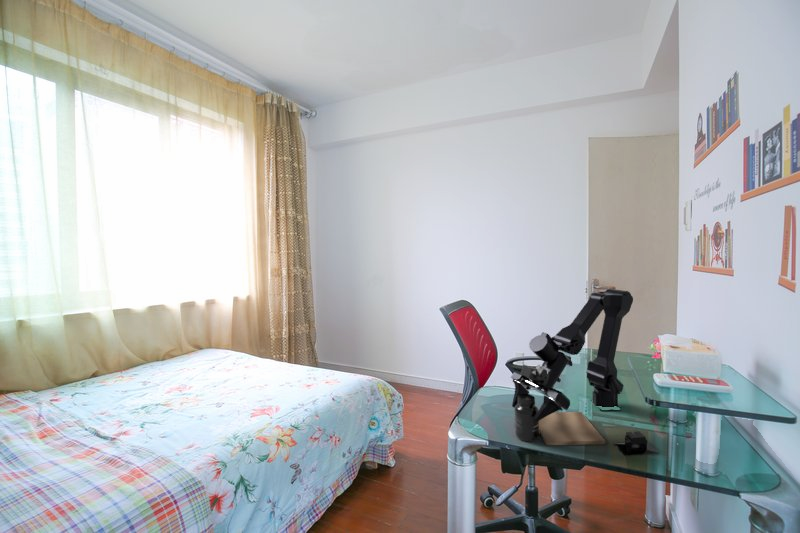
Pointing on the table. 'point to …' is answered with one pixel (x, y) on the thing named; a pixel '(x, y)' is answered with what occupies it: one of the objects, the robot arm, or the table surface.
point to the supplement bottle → (526, 418)
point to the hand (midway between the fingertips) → (523, 413)
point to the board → (568, 429)
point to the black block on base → (635, 445)
